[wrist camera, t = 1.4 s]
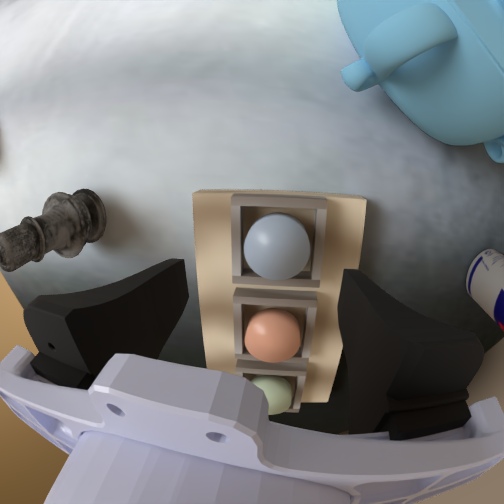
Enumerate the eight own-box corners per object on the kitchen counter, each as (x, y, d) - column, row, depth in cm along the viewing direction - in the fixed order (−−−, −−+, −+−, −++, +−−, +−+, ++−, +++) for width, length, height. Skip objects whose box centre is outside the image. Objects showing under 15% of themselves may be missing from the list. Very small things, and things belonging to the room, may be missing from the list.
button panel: (326, 388, 26) (328, 412, 23) (215, 381, 27) (207, 404, 24) (359, 195, 19) (372, 203, 16) (200, 189, 20) (185, 196, 17)
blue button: (305, 271, 18) (307, 281, 17) (247, 268, 19) (244, 278, 17) (310, 213, 17) (312, 219, 16) (247, 211, 18) (243, 216, 16)
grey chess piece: (106, 183, 21) (-3, 217, 10) (111, 247, 23) (20, 309, 12) (63, 187, 22) (-34, 219, 11) (69, 243, 24) (-16, 294, 13)
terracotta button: (297, 350, 21) (297, 363, 19) (247, 347, 21) (245, 360, 20) (302, 309, 20) (303, 321, 18) (247, 306, 20) (244, 318, 18)
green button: (289, 403, 23) (289, 415, 22) (247, 400, 24) (245, 412, 22) (293, 375, 22) (293, 389, 20) (247, 373, 22) (245, 385, 21)
